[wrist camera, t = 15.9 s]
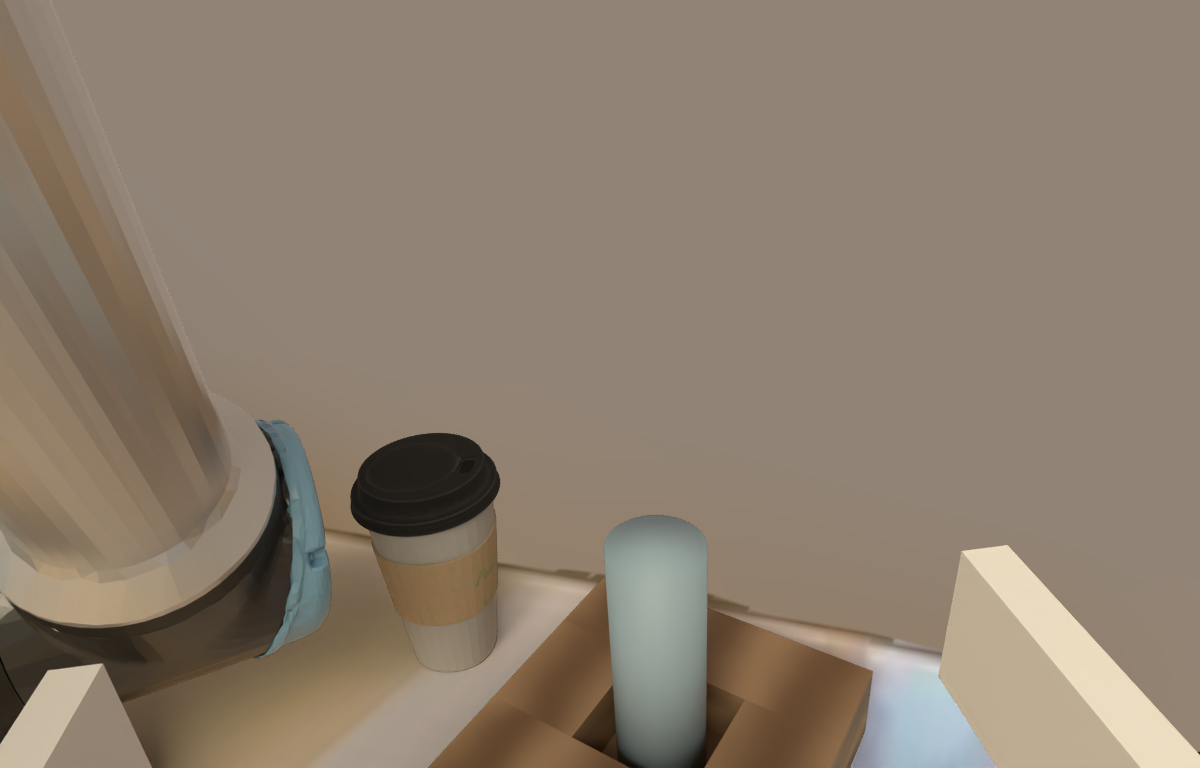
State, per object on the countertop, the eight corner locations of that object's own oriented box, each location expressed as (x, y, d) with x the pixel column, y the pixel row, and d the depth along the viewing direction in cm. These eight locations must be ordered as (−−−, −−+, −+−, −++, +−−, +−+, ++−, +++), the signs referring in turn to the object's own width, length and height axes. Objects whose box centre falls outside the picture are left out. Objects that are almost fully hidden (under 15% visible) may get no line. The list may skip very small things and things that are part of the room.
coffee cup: (539, 664, 55) (515, 481, 48) (401, 714, 51) (355, 527, 45) (499, 581, 62) (474, 414, 56) (378, 620, 59) (335, 448, 52)
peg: (617, 807, 44) (601, 582, 36) (619, 729, 48) (606, 515, 41) (708, 808, 43) (711, 581, 36) (703, 730, 48) (704, 514, 40)
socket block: (441, 829, 44) (426, 768, 42) (614, 624, 57) (610, 570, 55) (740, 1028, 35) (743, 965, 33) (865, 731, 48) (872, 671, 46)
